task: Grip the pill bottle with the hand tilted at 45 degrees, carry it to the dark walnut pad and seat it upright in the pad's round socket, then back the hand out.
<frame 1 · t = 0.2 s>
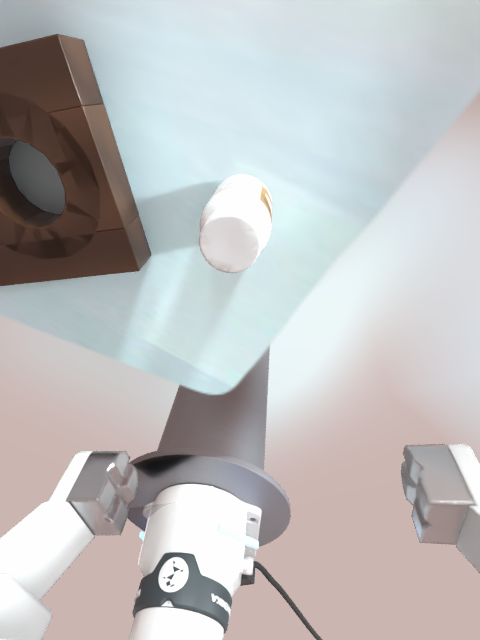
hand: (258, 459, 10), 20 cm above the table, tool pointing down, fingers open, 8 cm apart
socket pad: (47, 176, 26), on the table
pill bottle: (242, 204, 26), on the table
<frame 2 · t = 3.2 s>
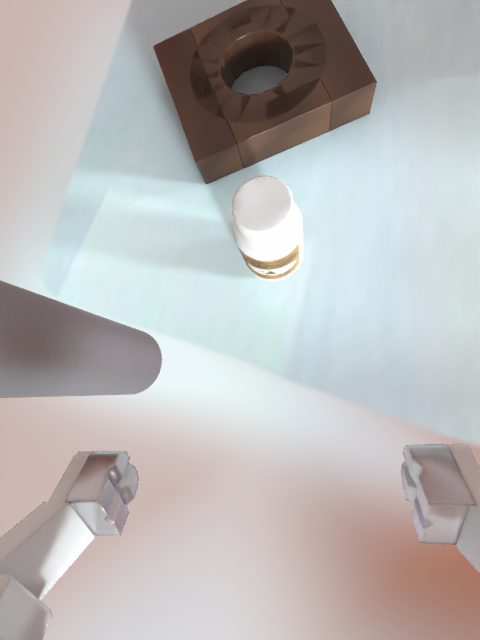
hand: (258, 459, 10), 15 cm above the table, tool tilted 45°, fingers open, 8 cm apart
socket pad: (260, 93, 30), on the table
pill bottle: (274, 256, 27), on the table
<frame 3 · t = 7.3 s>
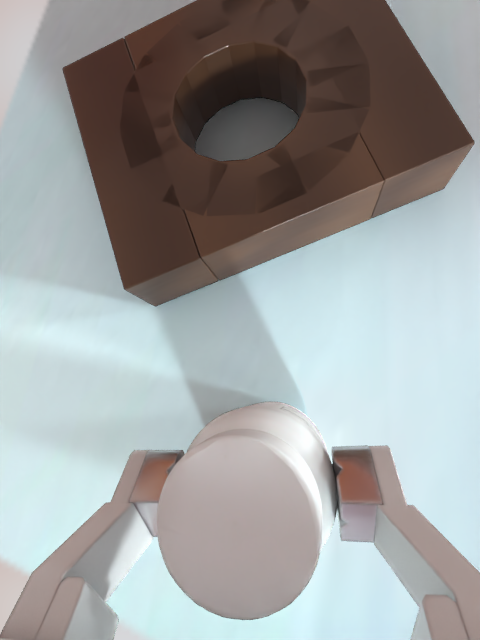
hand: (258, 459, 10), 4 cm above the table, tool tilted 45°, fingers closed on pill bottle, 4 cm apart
socket pad: (248, 147, 18), on the table
pill bottle: (273, 455, 15), on the table, touching gripper
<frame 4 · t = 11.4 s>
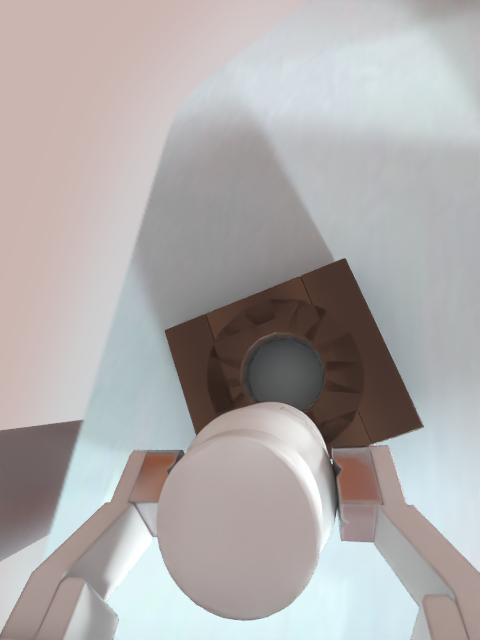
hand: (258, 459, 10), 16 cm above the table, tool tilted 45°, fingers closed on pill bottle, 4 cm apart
socket pad: (285, 376, 27), on the table
pill bottle: (273, 455, 15), point 12 cm above the table, touching gripper
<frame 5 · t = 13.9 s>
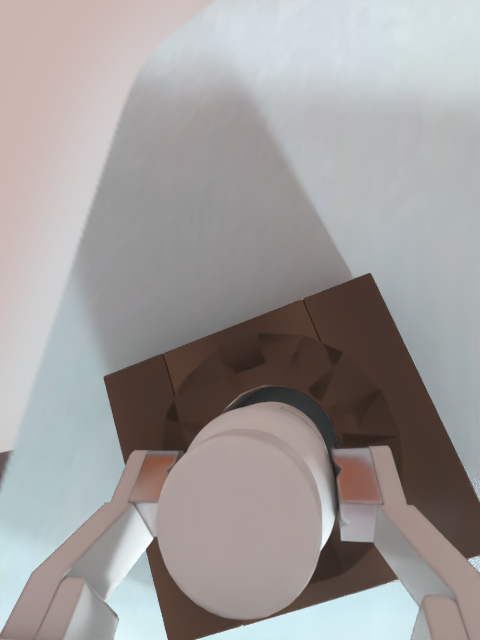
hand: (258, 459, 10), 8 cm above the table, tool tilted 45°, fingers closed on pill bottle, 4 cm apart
socket pad: (279, 441, 18), on the table
pill bottle: (273, 455, 15), point 4 cm above the table, touching gripper
when the fingers open (4 cm above the table, at t = 15.6 s): pill bottle stays where it is, resting in socket pad.
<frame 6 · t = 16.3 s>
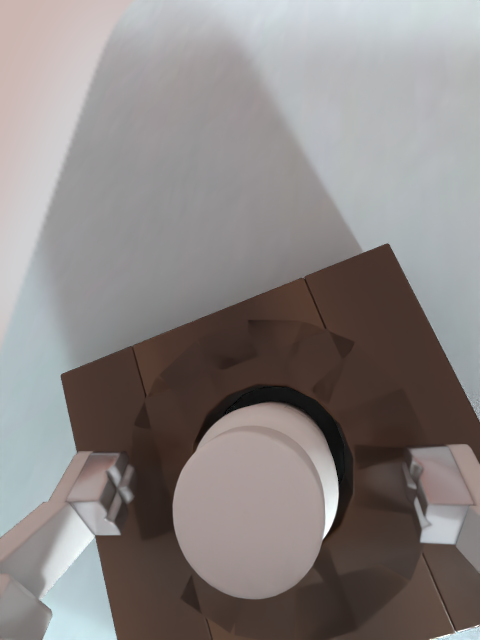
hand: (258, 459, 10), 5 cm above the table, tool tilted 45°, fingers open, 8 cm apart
socket pad: (276, 452, 15), on the table
pill bottle: (276, 452, 15), resting in socket pad
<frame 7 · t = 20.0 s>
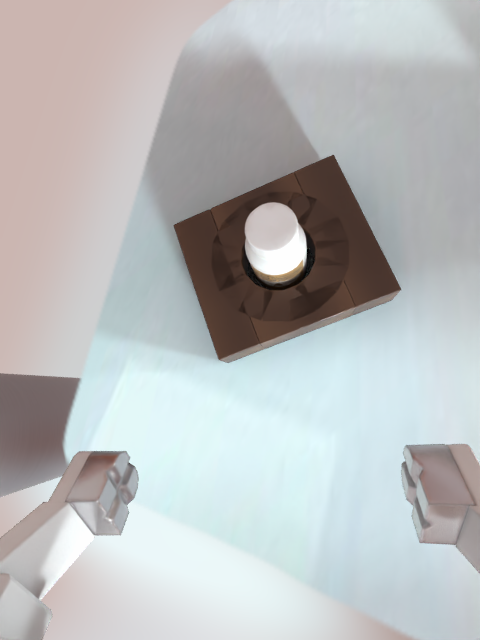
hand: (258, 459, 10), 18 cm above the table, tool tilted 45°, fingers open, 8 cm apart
socket pad: (280, 267, 30), on the table
pill bottle: (280, 268, 30), resting in socket pad
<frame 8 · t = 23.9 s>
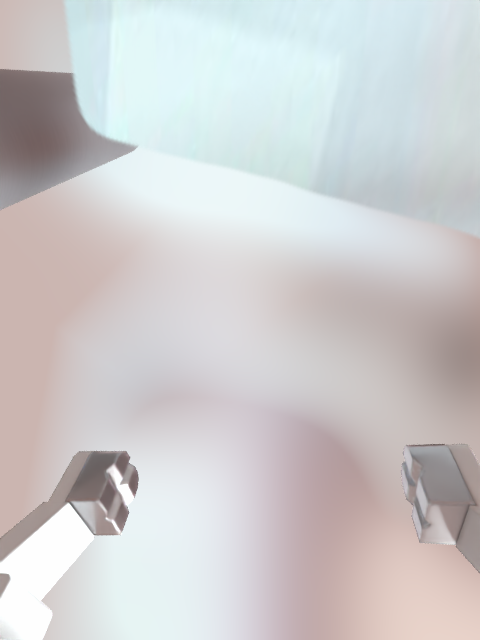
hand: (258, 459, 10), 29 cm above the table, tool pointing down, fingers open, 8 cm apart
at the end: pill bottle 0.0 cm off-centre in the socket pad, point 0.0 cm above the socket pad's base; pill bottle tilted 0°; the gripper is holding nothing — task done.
